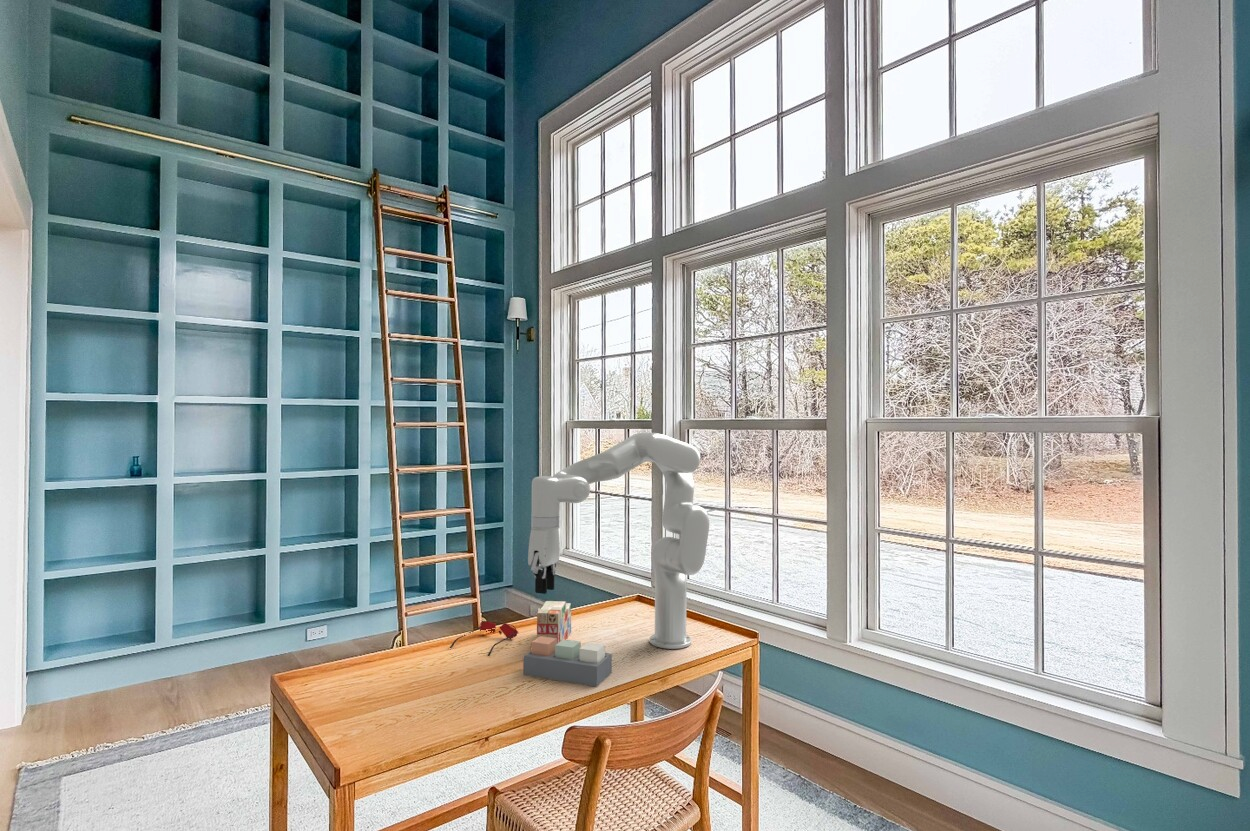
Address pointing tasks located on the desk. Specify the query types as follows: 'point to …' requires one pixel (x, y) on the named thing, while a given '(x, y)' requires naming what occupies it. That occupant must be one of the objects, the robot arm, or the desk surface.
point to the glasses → (505, 628)
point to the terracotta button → (544, 646)
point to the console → (567, 669)
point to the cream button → (592, 653)
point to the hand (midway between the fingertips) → (544, 590)
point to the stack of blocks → (554, 620)
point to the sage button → (567, 649)
